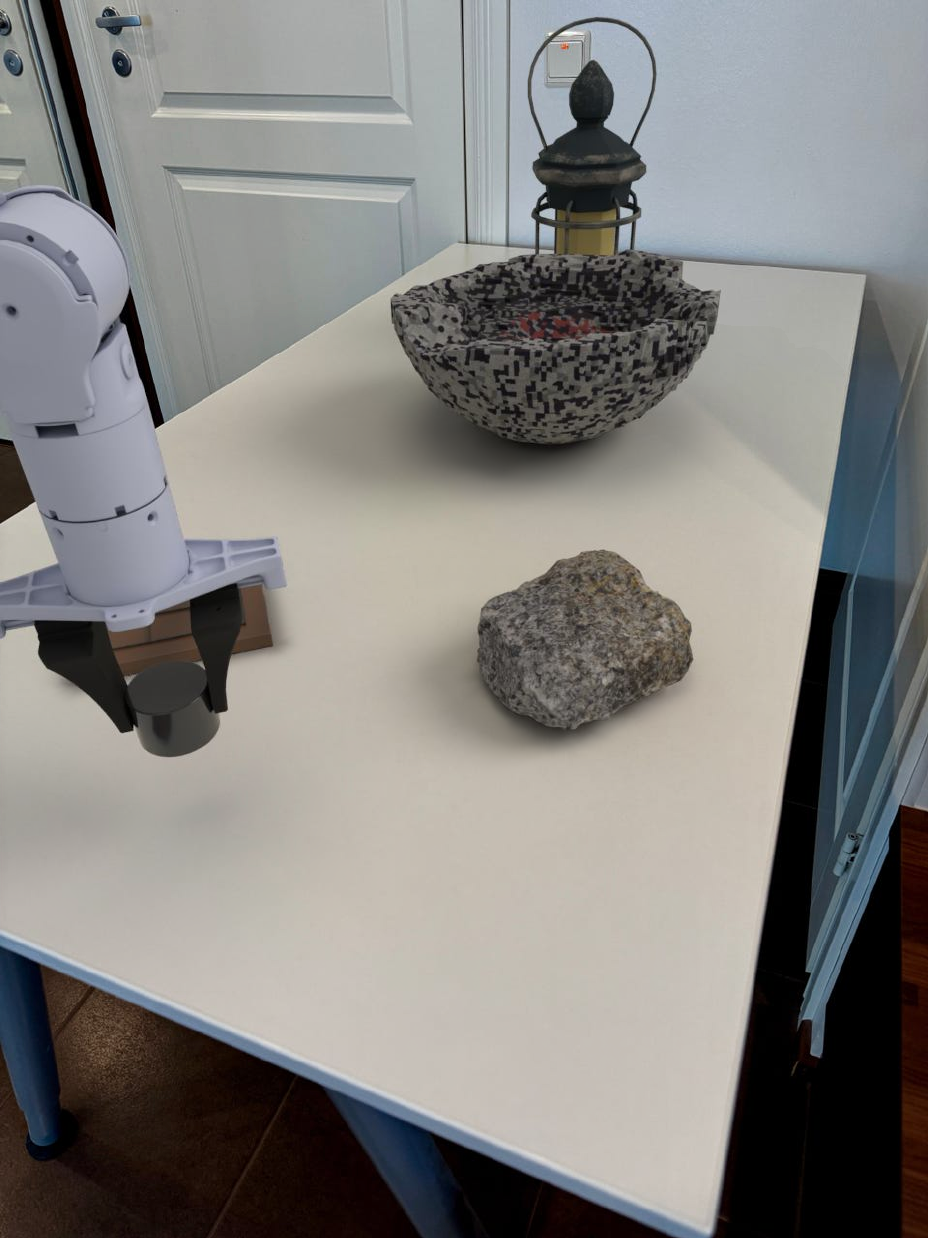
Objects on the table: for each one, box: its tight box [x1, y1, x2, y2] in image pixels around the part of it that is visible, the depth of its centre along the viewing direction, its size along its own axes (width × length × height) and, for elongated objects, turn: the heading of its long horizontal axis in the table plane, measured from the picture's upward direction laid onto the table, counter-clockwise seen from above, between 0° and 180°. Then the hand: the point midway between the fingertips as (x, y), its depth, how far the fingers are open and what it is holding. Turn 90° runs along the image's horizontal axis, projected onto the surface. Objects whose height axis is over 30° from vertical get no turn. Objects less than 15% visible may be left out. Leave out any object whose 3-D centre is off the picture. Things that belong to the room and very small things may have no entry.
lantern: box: [527, 16, 658, 255], centre depth 104 cm, size 14×13×35 cm
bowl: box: [389, 248, 722, 445], centre depth 90 cm, size 31×31×15 cm
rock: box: [476, 549, 694, 730], centre depth 61 cm, size 13×6×15 cm
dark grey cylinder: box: [125, 660, 221, 758], centre depth 48 cm, size 4×4×3 cm
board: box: [105, 584, 274, 677], centre depth 69 cm, size 14×14×1 cm
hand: (173, 710), depth 48 cm, fingers closed on dark grey cylinder, 4 cm apart
